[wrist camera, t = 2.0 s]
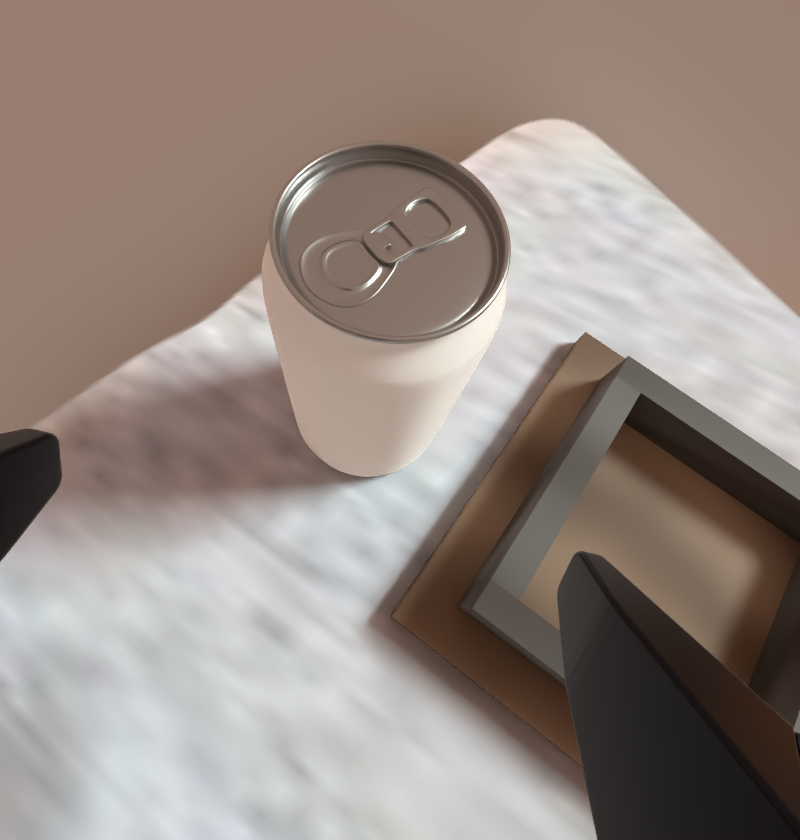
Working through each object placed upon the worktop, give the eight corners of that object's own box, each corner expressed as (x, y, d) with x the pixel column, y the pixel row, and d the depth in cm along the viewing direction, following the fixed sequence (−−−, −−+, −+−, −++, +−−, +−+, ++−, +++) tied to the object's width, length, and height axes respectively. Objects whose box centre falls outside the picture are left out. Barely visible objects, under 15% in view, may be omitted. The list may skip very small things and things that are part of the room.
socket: (738, 888, 18) (826, 955, 15) (390, 616, 20) (400, 621, 17) (860, 533, 23) (946, 524, 20) (576, 341, 25) (611, 304, 22)
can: (267, 395, 22) (191, 198, 11) (380, 323, 24) (413, 90, 13) (353, 509, 21) (366, 417, 10) (465, 424, 23) (584, 265, 12)
